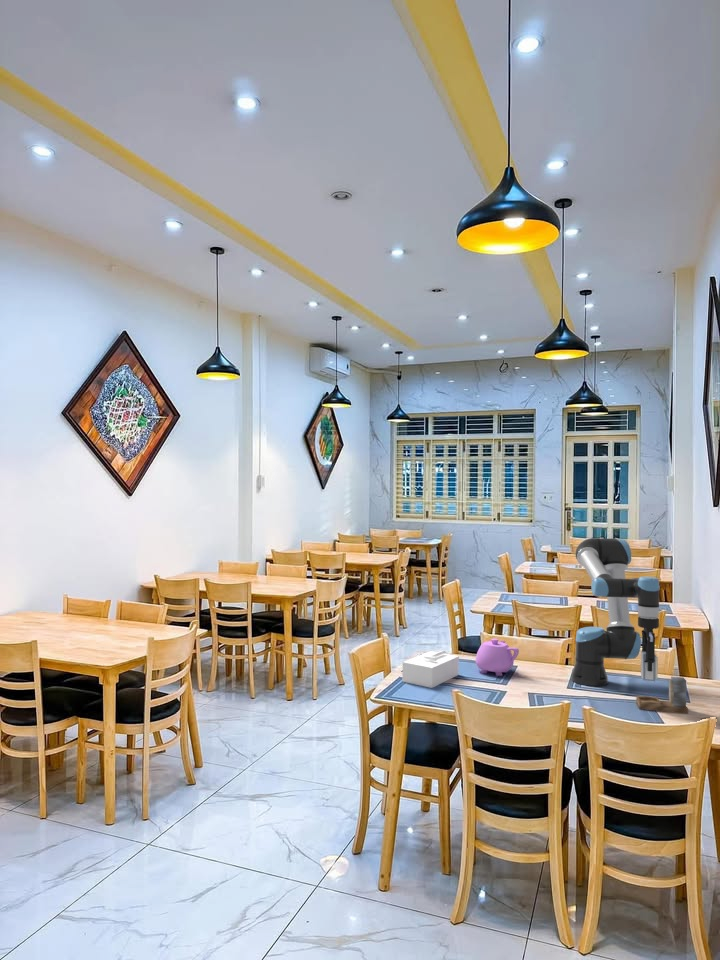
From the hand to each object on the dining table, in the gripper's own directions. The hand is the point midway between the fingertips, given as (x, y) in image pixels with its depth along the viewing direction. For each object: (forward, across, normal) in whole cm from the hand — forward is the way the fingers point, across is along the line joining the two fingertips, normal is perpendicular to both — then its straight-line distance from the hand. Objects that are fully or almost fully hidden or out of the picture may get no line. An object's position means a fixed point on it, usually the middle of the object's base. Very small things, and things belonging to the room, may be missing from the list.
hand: (648, 677), depth 252 cm
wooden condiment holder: (+12, 0, -5) cm, 13 cm away
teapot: (+11, +34, +58) cm, 68 cm away
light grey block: (+1, 0, 0) cm, 1 cm away
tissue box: (+12, +14, +86) cm, 88 cm away
